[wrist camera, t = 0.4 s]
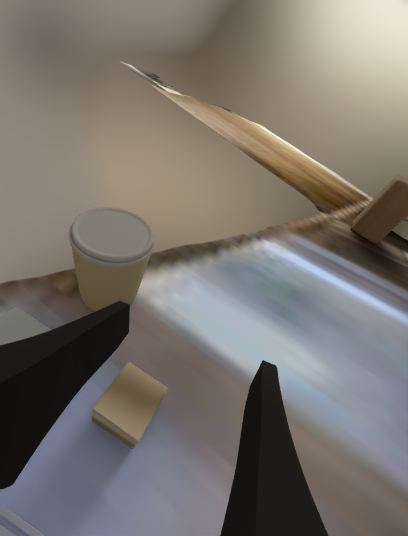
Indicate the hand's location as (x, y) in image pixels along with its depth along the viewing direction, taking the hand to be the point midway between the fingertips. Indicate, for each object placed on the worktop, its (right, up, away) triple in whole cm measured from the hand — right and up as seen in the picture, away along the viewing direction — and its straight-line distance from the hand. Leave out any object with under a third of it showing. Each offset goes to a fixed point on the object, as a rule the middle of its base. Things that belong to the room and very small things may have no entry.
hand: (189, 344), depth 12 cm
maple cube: (-8, -12, +14) cm, 20 cm away
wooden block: (+60, +17, +75) cm, 98 cm away
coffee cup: (-13, 0, +23) cm, 27 cm away
